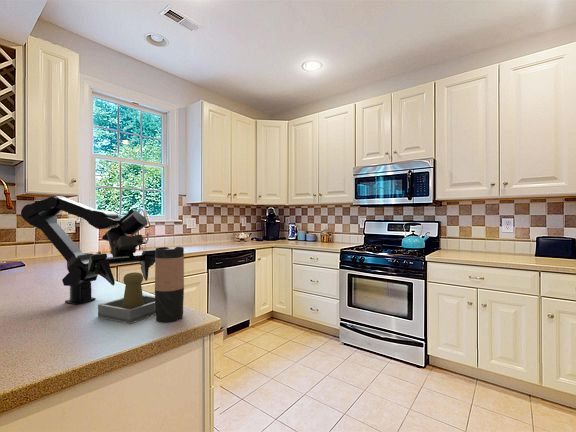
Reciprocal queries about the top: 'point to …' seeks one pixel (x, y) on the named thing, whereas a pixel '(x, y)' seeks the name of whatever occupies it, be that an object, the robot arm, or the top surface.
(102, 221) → the robot arm
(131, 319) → the gray square tray
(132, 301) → the cork
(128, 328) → the top surface
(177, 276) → the travel mug
